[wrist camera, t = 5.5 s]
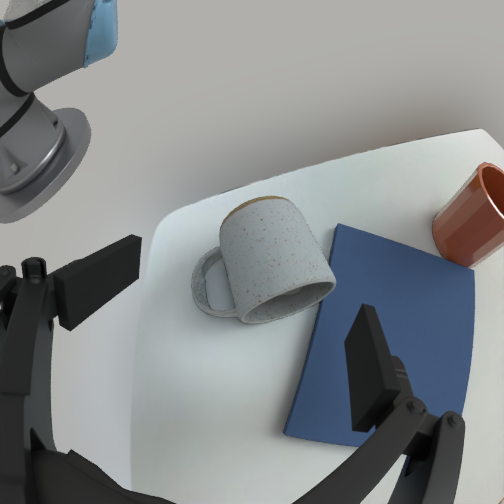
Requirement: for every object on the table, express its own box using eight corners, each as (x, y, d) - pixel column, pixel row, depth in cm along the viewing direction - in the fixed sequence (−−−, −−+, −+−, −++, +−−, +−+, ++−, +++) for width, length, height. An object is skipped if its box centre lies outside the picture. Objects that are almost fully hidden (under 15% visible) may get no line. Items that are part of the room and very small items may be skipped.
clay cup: (432, 259, 27) (487, 212, 18) (430, 203, 30) (471, 151, 21) (479, 277, 26) (534, 239, 17) (474, 223, 29) (518, 180, 20)
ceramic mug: (290, 226, 28) (302, 176, 21) (324, 303, 25) (351, 272, 18) (185, 258, 26) (163, 215, 20) (209, 342, 23) (190, 327, 16)
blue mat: (282, 432, 20) (284, 435, 19) (335, 228, 28) (338, 222, 27) (447, 447, 18) (452, 448, 17) (469, 273, 26) (474, 270, 25)
